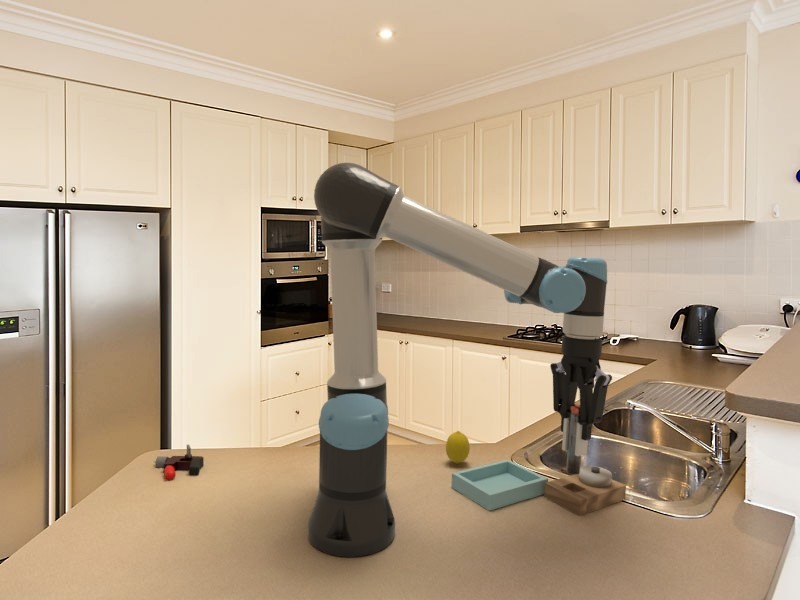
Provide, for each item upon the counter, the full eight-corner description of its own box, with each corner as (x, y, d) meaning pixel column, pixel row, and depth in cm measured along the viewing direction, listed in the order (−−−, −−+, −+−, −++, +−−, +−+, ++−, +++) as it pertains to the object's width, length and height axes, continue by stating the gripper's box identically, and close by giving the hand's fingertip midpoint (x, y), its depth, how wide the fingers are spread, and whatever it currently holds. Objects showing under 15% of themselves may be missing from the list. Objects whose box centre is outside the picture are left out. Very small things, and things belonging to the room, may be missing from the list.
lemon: (467, 469, 123) (469, 436, 122) (444, 467, 124) (445, 433, 123) (469, 460, 128) (470, 428, 128) (446, 458, 129) (447, 426, 129)
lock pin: (573, 475, 106) (578, 408, 105) (563, 470, 108) (567, 405, 107) (582, 472, 107) (587, 406, 106) (572, 468, 109) (576, 403, 108)
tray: (489, 510, 103) (490, 495, 103) (451, 487, 113) (451, 473, 113) (547, 493, 112) (547, 478, 112) (507, 472, 122) (507, 459, 122)
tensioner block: (579, 515, 102) (581, 486, 102) (544, 497, 110) (545, 469, 109) (625, 499, 110) (626, 472, 109) (588, 483, 117) (590, 457, 117)
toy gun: (156, 464, 122) (155, 443, 122) (208, 465, 123) (208, 444, 122) (136, 482, 113) (135, 460, 112) (193, 483, 113) (193, 461, 113)
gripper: (629, 341, 101) (620, 462, 103) (563, 329, 114) (556, 437, 116) (603, 343, 97) (594, 469, 99) (539, 331, 110) (532, 442, 112)
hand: (574, 451), depth 107 cm, fingers closed on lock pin, 2 cm apart
